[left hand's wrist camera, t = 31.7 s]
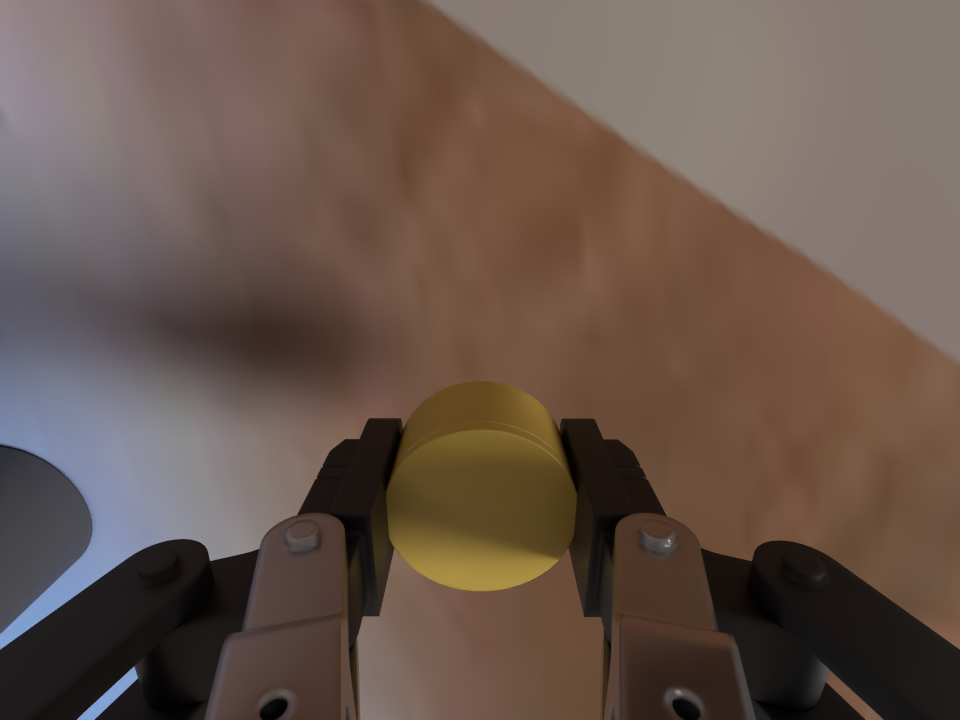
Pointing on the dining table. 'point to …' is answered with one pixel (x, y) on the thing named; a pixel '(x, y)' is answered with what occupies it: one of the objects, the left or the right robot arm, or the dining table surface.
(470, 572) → the cap
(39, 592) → the bottle
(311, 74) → the dining table surface
